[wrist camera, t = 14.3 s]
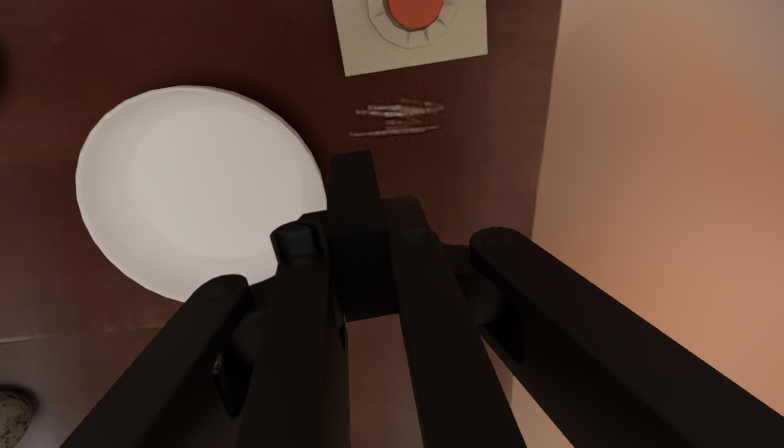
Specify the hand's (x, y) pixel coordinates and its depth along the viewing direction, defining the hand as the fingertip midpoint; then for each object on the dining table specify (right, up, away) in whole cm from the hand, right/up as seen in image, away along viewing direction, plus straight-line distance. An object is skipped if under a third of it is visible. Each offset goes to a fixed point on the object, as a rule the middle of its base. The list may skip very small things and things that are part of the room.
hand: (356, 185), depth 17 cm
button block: (+3, +17, +19) cm, 26 cm away
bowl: (-14, +2, +25) cm, 29 cm away
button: (+3, +15, +16) cm, 22 cm away
